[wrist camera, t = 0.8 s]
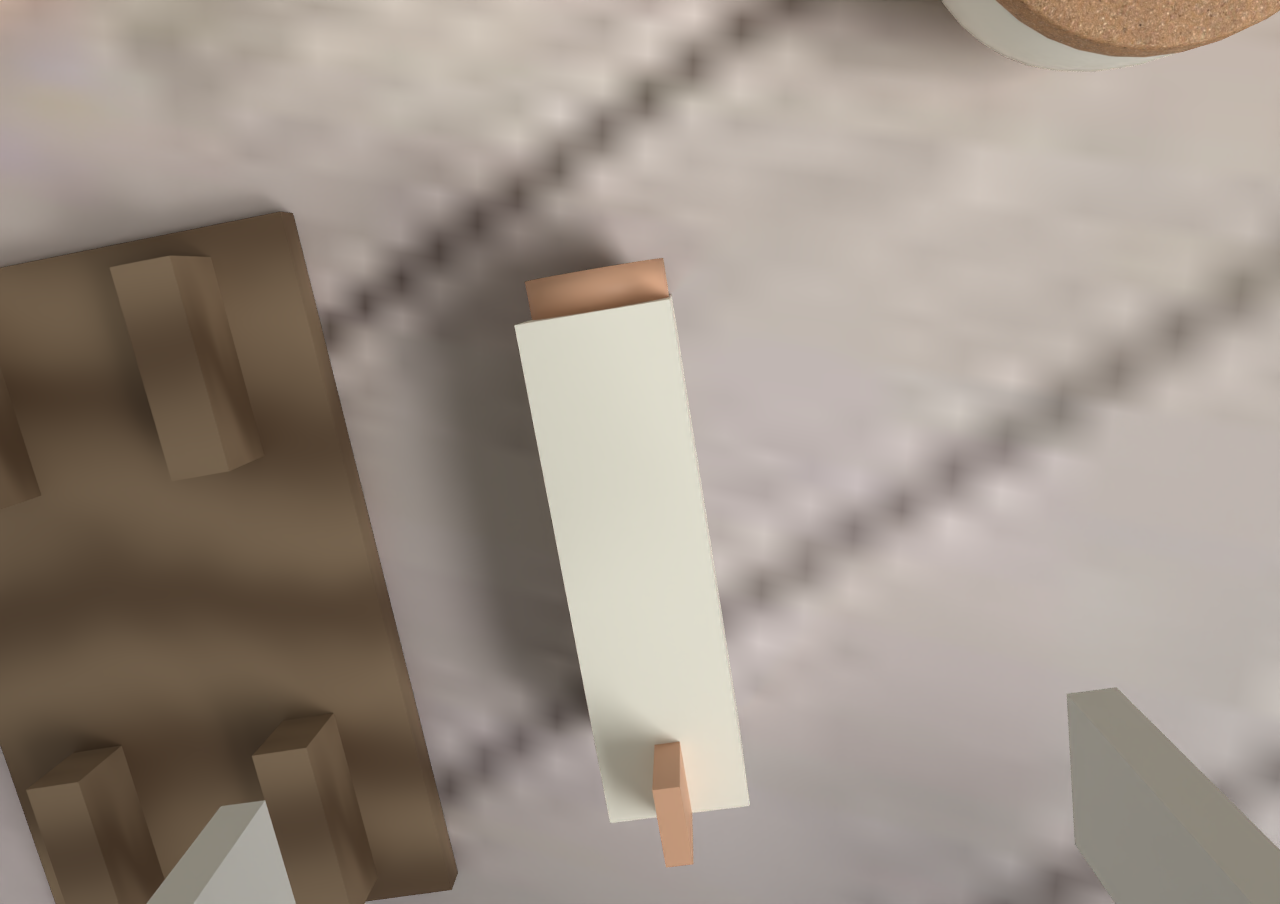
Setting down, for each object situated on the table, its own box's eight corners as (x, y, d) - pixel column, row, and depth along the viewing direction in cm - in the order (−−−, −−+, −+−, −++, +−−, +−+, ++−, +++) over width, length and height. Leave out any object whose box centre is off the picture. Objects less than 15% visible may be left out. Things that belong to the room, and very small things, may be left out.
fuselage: (737, 713, 34) (756, 856, 26) (621, 728, 34) (603, 874, 26) (666, 259, 31) (661, 254, 22) (538, 281, 31) (487, 284, 23)
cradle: (457, 872, 36) (434, 936, 32) (85, 923, 37) (23, 990, 33) (292, 213, 31) (244, 206, 27) (-130, 298, 32) (-227, 301, 29)
